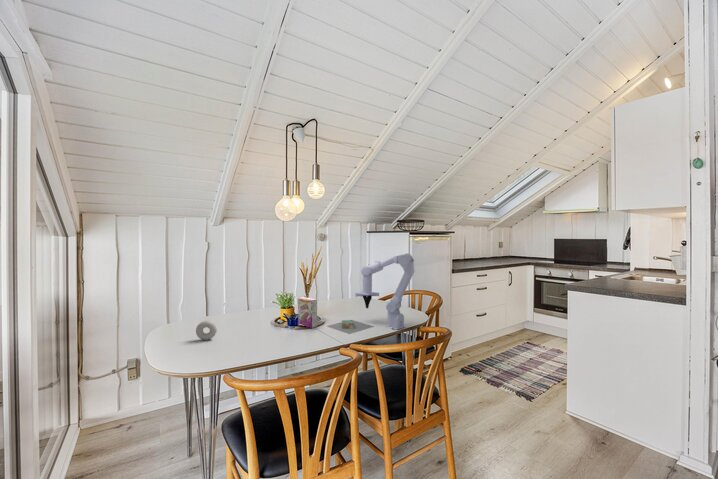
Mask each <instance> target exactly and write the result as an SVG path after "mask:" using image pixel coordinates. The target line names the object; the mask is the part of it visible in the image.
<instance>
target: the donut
mask: <svg viewBox="0 0 718 479" xmlns="http://www.w3.org/2000/svg"><path fill="white" fill-rule="evenodd" d="M206 328H208V329H209V332H207V333H206V332H204V329H206ZM217 330H218V329H217V325H216V323H214V322H213V321H211V320H202V322H200V323H198V325H197V326H196V328H195V334H196V336H197V338H199V340H203V341H208V340H212V339H213V338H214V337H215V336H216V334H217V332H218V331H217Z"/></svg>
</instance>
